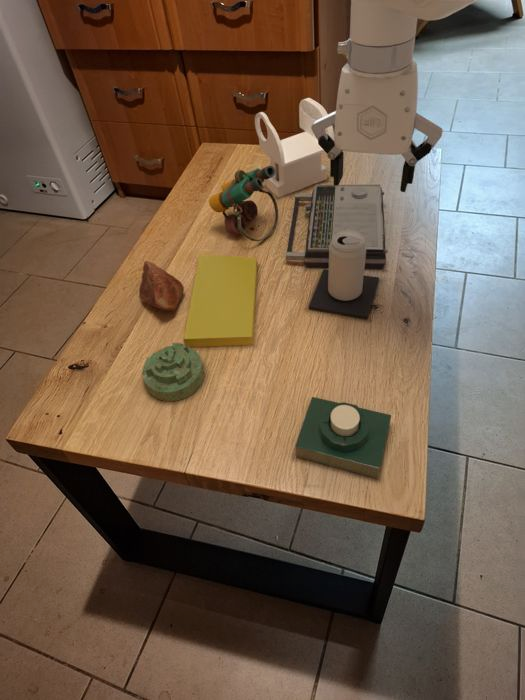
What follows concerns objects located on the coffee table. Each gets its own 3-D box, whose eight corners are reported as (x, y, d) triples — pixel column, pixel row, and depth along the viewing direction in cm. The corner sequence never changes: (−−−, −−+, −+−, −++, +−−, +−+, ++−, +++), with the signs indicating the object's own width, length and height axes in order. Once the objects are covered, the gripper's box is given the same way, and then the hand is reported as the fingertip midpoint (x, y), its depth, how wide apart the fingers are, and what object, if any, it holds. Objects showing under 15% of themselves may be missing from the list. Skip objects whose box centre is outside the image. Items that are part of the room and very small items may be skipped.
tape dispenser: (283, 203, 114) (279, 127, 101) (257, 180, 122) (250, 106, 108) (333, 183, 118) (335, 107, 104) (305, 162, 126) (303, 89, 112)
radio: (388, 247, 92) (284, 246, 95) (385, 269, 96) (285, 267, 99) (384, 179, 107) (295, 180, 110) (382, 200, 111) (296, 200, 114)
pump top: (361, 416, 69) (362, 408, 67) (355, 440, 67) (356, 432, 65) (334, 409, 70) (334, 401, 68) (327, 432, 68) (327, 425, 66)
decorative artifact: (150, 357, 86) (142, 403, 79) (139, 330, 81) (130, 377, 74) (206, 352, 85) (202, 399, 79) (198, 325, 80) (194, 373, 74)
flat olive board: (253, 344, 86) (258, 259, 101) (251, 336, 84) (257, 250, 100) (186, 347, 87) (201, 261, 102) (183, 339, 85) (199, 253, 101)
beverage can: (331, 278, 94) (332, 227, 85) (364, 282, 93) (369, 230, 84) (325, 301, 90) (325, 249, 81) (359, 305, 89) (364, 253, 80)
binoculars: (263, 223, 115) (228, 168, 108) (309, 207, 105) (273, 144, 98) (234, 258, 107) (194, 201, 100) (281, 243, 98) (240, 179, 91)
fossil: (176, 313, 88) (144, 266, 84) (141, 330, 91) (109, 285, 87) (197, 288, 98) (171, 245, 95) (166, 304, 102) (139, 263, 98)
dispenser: (389, 425, 73) (393, 407, 69) (378, 478, 67) (381, 461, 64) (312, 407, 76) (311, 388, 72) (295, 456, 71) (294, 439, 67)
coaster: (378, 280, 94) (379, 277, 93) (367, 319, 87) (367, 316, 87) (323, 271, 97) (323, 268, 96) (308, 309, 90) (308, 306, 90)
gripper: (302, 63, 58) (306, 191, 71) (453, 67, 53) (428, 204, 66) (318, 42, 63) (319, 166, 75) (459, 43, 58) (434, 176, 70)
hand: (370, 183), depth 71 cm, fingers open, 9 cm apart
